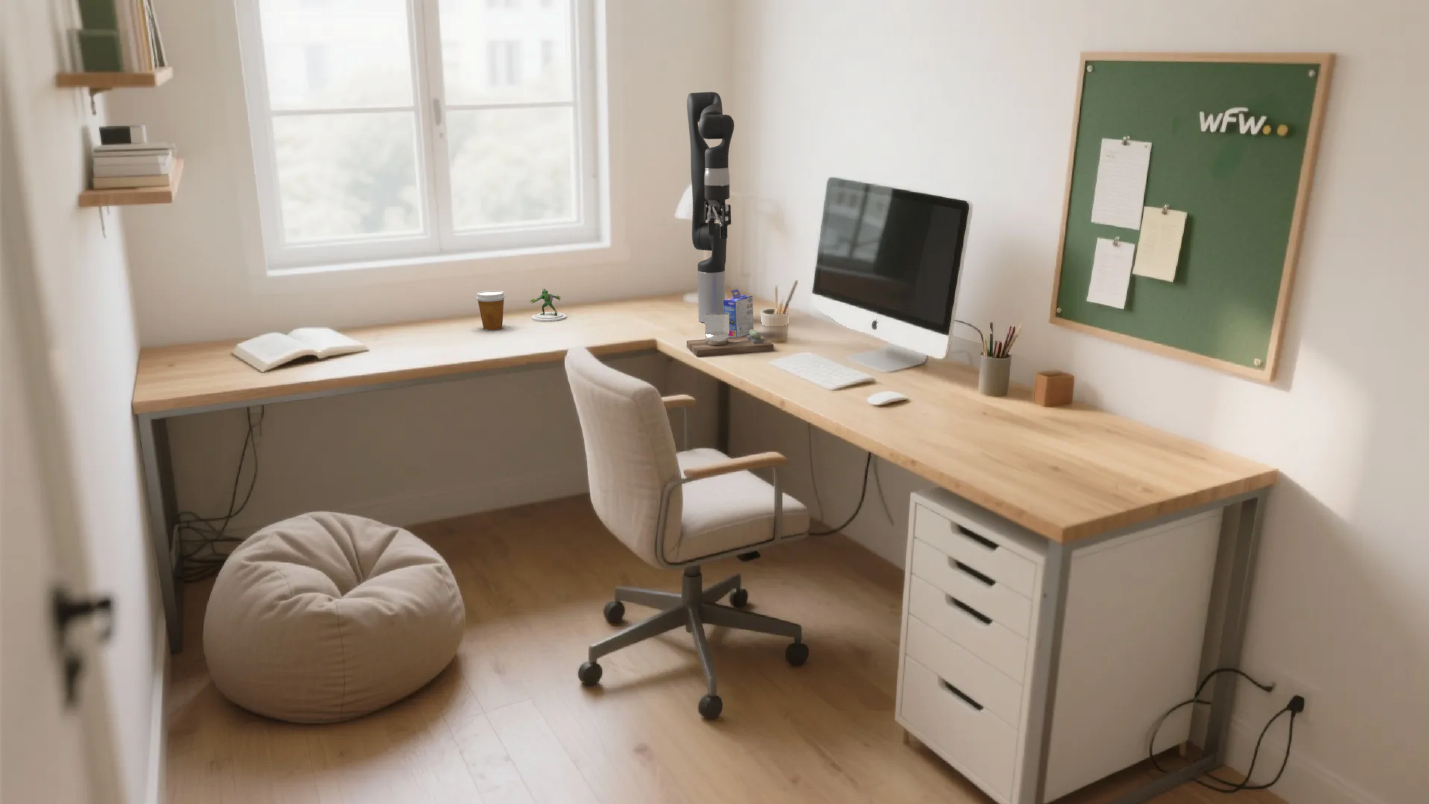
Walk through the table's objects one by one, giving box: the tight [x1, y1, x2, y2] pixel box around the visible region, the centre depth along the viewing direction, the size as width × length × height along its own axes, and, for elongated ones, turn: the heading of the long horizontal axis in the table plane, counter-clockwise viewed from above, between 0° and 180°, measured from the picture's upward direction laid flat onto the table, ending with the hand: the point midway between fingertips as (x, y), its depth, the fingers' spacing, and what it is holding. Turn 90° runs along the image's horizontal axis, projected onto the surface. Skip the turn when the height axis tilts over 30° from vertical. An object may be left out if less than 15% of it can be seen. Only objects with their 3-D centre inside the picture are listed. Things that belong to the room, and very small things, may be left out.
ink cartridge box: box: [723, 288, 755, 338], centre depth 357 cm, size 10×6×14 cm, turn 144°
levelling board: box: [686, 329, 775, 358], centre depth 339 cm, size 13×24×5 cm, turn 105°
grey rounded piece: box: [704, 313, 729, 346], centre depth 337 cm, size 7×7×9 cm
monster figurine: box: [529, 287, 567, 323], centre depth 386 cm, size 12×12×10 cm
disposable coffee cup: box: [475, 290, 506, 331], centre depth 372 cm, size 10×10×12 cm
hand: (717, 237), depth 339 cm, fingers open, 8 cm apart
